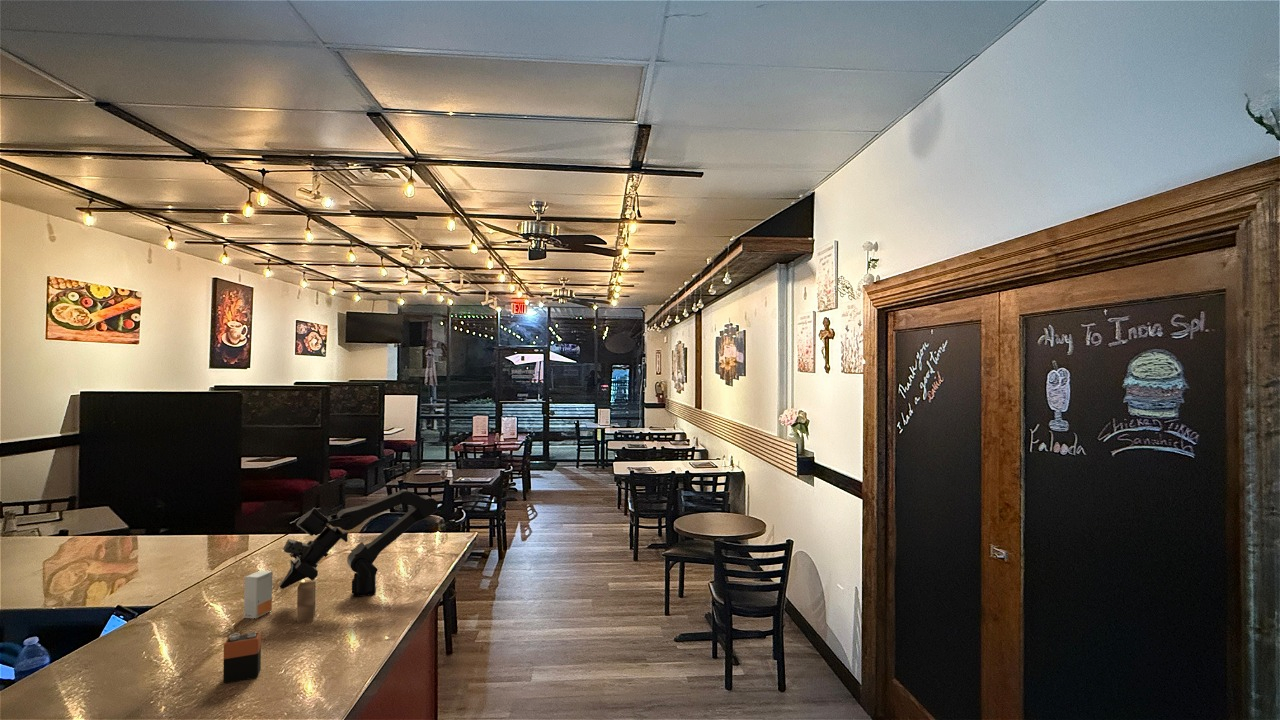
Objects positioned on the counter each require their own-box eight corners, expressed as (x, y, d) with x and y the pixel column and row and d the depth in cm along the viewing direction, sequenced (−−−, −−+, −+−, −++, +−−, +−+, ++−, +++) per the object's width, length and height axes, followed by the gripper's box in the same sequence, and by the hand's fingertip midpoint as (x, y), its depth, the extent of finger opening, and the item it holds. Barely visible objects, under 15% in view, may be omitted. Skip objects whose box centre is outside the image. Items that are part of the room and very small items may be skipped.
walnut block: (315, 615, 175) (315, 581, 175) (312, 621, 171) (313, 586, 171) (299, 617, 174) (300, 583, 174) (297, 623, 170) (297, 587, 170)
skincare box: (256, 619, 173) (256, 577, 173) (243, 618, 174) (243, 576, 174) (272, 611, 179) (273, 570, 179) (260, 610, 179) (261, 570, 180)
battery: (227, 675, 140) (227, 632, 140) (261, 669, 143) (261, 627, 143) (222, 684, 136) (223, 640, 136) (257, 678, 139) (258, 635, 139)
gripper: (297, 523, 191) (256, 564, 184) (305, 535, 175) (260, 581, 169) (325, 543, 195) (285, 584, 188) (335, 557, 180) (292, 603, 173)
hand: (280, 587), depth 179 cm, fingers closed
